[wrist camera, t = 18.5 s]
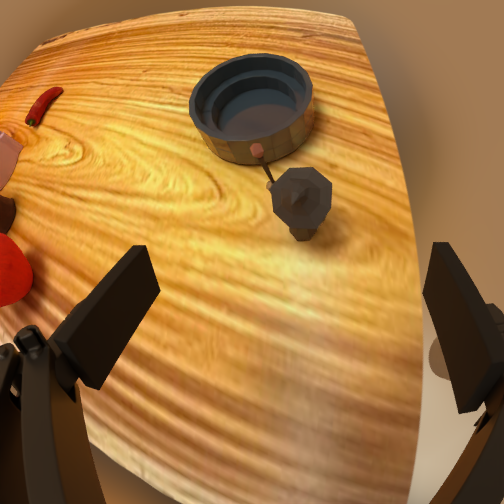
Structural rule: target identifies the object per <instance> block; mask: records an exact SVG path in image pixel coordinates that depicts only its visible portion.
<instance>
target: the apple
mask: <svg viewBox="0 0 504 504" xmlns="http://www.w3.org/2000/svg"><path fill="white" fill-rule="evenodd" d="M32 283H33V272H32V269H31V266H30V264H29V262H28V260H27V259H26V257H25V256H24V254H23V253H22V251H21V250H20V248H19V247H18V246H17V245H16V244H15V242H14V241H13V240H12V239H11V238H9V237H8V236H7V235H5V234H3V233H0V307H3V306H6V305H10V304H13V303H15V302H17V301H18V300H20V299H22V298H23V297H24V296H25V295H27V293H28V292H29V291H30V289H31V286H32Z"/></svg>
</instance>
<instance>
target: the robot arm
mask: <svg viewBox="0 0 504 504" xmlns="http://www.w3.org/2000/svg"><path fill="white" fill-rule="evenodd" d="M160 291H161V290H160V287H159V285H158V282H157V279H156V276H155V272H154V269H153V266H152V263H151V260H150V257H149V254H148V250H147V247H146V245H133V246H132V247H131V248H130V249H129V250H128V252H127V253H126V254H125V255H124V256H123V257H122V258H121V259H120V260H119V261H118V262H117V263H116V265H115V266H114V267H113V268H112V269H111V270H110V271H109V272H108V273H107V275H106V276H105V277H104V278H103V279H102V280H101V281H100V282H99V284H98V285H97V286H96V287H95V288H94V289H93V290H92V292H91V293H90V294H89V295H88V296H87V297H86V298H85V299H84V300H82V301H81V302H80V303H78V304H77V305H76V306H75V307H74V308H73V310H72V311H71V312H70V314H68V316H67V317H66V318H65V320H63V322H62V323H61V324H60V325H59V327H58V328H57V329H56V330H55V332H54V333H53V334H52V335H51V337H50V338H49V339H48V340H46V339H45V337H44V336H43V334H42V333H41V331H40V329H39V328H38V327H37V326H36V325H29V326H26V327H24V328H22V329H21V330H20V331H19V332H18V333H17V334H16V336H15V337H14V340H13V341H14V343H15V344H16V346H17V347H18V349H19V350H20V352H18V351H17V350H16V348H15V347H14V345H13V344H11V343H6V344H3V345H1V346H0V504H106V502H105V498H104V496H103V493H102V489H101V486H100V482H99V479H98V476H97V472H96V469H95V465H94V461H93V457H92V453H91V449H90V444H89V440H88V435H87V430H86V425H85V420H84V415H83V409H82V403H81V397H80V390H79V387H78V384H77V383H76V381H77V379H78V378H80V379H81V380H82V382H83V383H84V384H85V386H87V387H90V388H93V389H97V390H100V388H101V387H102V385H103V383H104V382H105V380H106V378H107V376H108V375H109V373H110V371H111V370H112V368H113V366H114V365H115V363H116V361H117V360H118V358H119V356H120V355H121V353H122V351H123V350H124V348H125V346H126V345H127V343H128V342H129V340H130V338H131V337H132V335H133V334H134V332H135V330H136V329H137V327H138V326H139V324H140V322H141V321H142V319H143V318H144V316H145V314H146V313H147V311H148V310H149V308H150V307H151V305H152V304H153V302H154V300H155V299H156V297H157V296H158V294H159V293H160ZM422 294H423V296H424V299H425V302H426V304H427V307H428V310H429V312H430V315H431V318H432V321H433V324H434V327H435V330H436V333H437V336H438V339H439V342H440V345H441V349H442V352H443V355H444V358H445V362H446V365H447V369H448V372H449V376H450V380H451V384H452V388H453V391H454V395H455V400H456V404H457V408H458V413H459V414H462V413H468V412H473V411H477V410H478V408H479V407H480V406H481V404H482V403H483V402H484V403H485V406H486V411H485V412H484V413H483V415H482V416H481V417H480V418H479V419H478V421H477V422H476V423H475V424H474V426H477V427H476V429H475V431H474V433H473V435H472V437H471V439H470V441H469V442H468V444H467V446H466V448H465V450H464V451H463V453H462V455H461V456H460V458H459V460H458V461H457V463H456V465H455V466H454V468H453V470H452V471H451V473H450V474H449V476H448V477H447V479H446V480H445V482H444V483H443V485H442V486H441V488H440V489H439V490H438V492H437V493H436V495H435V496H434V498H433V499H432V500H431V502H430V503H429V504H500V503H501V501H502V500H503V498H504V314H503V313H502V311H501V310H500V309H499V308H497V307H496V306H495V305H494V304H493V303H492V304H485V302H484V300H483V298H482V297H481V295H480V293H479V291H478V289H477V288H476V286H475V284H474V282H473V281H472V279H471V277H470V276H469V274H468V273H467V271H466V269H465V268H464V266H463V264H462V263H461V261H460V260H459V258H458V256H457V255H456V253H455V252H454V250H453V249H452V247H451V246H450V244H449V243H448V242H433V246H432V252H431V257H430V262H429V267H428V272H427V276H426V280H425V285H424V289H423V293H422ZM11 385H12V386H13V387H14V388H15V389H16V391H17V395H16V396H15V395H13V393H12V392H11V391H10V388H11Z"/></svg>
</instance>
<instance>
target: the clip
mask: <svg viewBox="0 0 504 504" xmlns="http://www.w3.org/2000/svg"><path fill="white" fill-rule="evenodd" d="M22 148H23V146H22V145H21V144H19V143H18V142H17V141H15V140H14V139H12V138H11V137H10V136H8V135H7V134H6V133H4V132H1V131H0V190H1V189H2V188H3V187H4V186H5V185H6V183H7V182H8V180H9V178H10V176H11V175H12V173H13V170H14V168H15V165H16V162H17V158H18V153H19V152H20V151H21V150H22Z"/></svg>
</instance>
